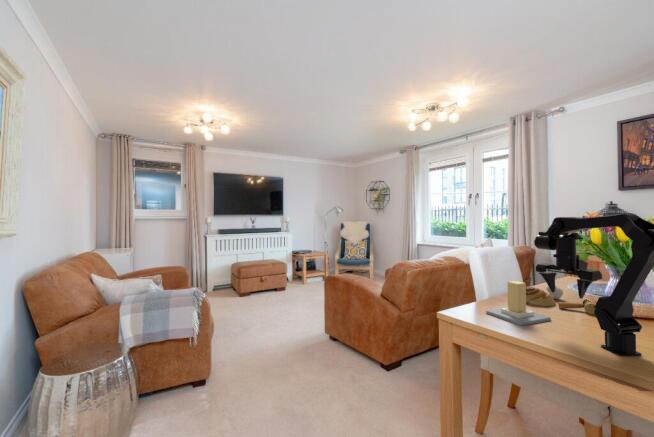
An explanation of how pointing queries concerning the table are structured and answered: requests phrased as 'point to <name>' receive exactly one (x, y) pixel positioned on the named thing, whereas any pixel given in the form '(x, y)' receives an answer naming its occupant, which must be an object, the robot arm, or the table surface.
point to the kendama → (579, 306)
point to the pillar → (517, 297)
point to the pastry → (538, 297)
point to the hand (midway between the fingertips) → (566, 295)
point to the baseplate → (518, 316)
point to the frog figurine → (555, 293)
